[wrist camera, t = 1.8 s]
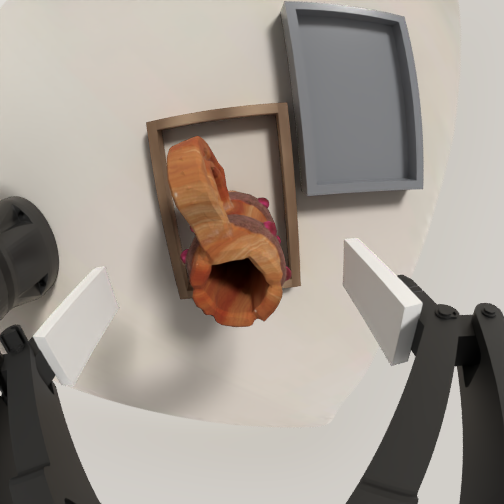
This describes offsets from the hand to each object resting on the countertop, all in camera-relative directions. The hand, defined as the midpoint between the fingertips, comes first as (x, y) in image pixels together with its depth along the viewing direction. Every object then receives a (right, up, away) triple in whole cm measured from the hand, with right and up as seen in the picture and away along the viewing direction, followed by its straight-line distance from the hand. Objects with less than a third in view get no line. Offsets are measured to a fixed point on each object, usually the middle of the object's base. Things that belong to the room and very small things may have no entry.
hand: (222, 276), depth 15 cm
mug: (-1, +7, +16) cm, 17 cm away
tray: (+13, +18, +12) cm, 25 cm away
